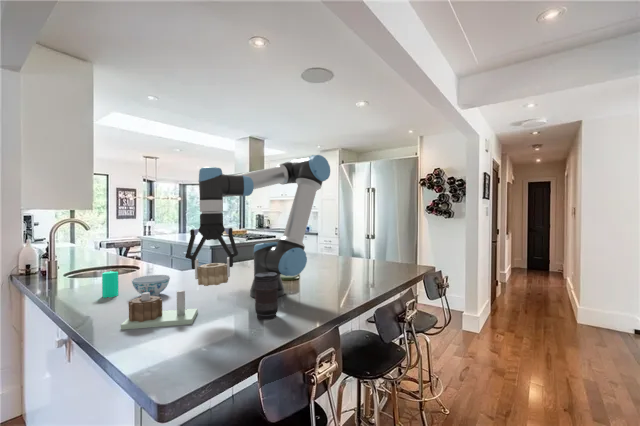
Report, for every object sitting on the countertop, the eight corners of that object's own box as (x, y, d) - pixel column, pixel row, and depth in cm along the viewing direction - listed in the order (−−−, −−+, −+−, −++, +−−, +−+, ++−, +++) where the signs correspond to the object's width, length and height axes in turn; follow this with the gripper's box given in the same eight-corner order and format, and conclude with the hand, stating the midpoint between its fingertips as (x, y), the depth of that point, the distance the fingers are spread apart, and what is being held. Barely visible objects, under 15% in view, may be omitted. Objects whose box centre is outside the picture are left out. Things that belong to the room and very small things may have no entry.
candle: (112, 297, 137) (112, 270, 137) (99, 297, 137) (98, 270, 137) (121, 294, 143) (121, 267, 143) (108, 294, 143) (108, 267, 143)
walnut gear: (159, 310, 113) (159, 294, 113) (164, 318, 105) (164, 300, 105) (128, 316, 107) (127, 298, 107) (130, 324, 100) (130, 305, 99)
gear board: (197, 312, 116) (197, 286, 116) (191, 324, 104) (191, 294, 104) (134, 317, 111) (133, 290, 111) (120, 329, 99) (120, 299, 99)
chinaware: (147, 290, 149) (147, 274, 149) (177, 291, 147) (176, 275, 147) (123, 299, 134) (123, 281, 134) (155, 300, 132) (155, 282, 132)
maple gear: (229, 278, 115) (228, 261, 115) (226, 284, 105) (226, 266, 105) (201, 280, 113) (200, 263, 113) (196, 286, 104) (195, 268, 103)
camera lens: (252, 315, 113) (252, 273, 113) (274, 312, 116) (274, 271, 116) (257, 322, 105) (257, 277, 105) (280, 318, 108) (280, 275, 108)
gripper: (244, 211, 115) (246, 273, 115) (178, 213, 110) (180, 277, 110) (244, 212, 107) (246, 277, 108) (174, 213, 102) (175, 282, 103)
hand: (213, 277), depth 109 cm, fingers closed on maple gear, 10 cm apart
